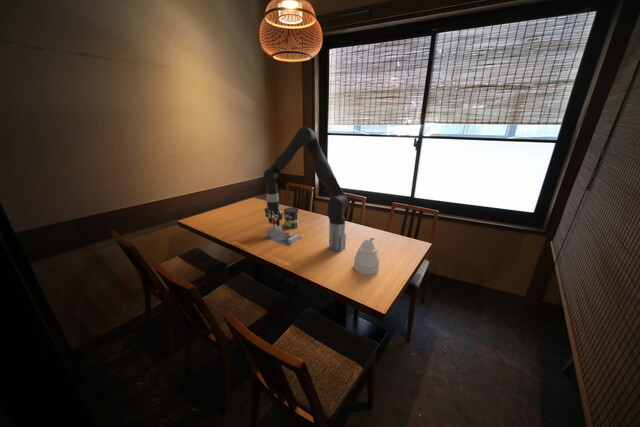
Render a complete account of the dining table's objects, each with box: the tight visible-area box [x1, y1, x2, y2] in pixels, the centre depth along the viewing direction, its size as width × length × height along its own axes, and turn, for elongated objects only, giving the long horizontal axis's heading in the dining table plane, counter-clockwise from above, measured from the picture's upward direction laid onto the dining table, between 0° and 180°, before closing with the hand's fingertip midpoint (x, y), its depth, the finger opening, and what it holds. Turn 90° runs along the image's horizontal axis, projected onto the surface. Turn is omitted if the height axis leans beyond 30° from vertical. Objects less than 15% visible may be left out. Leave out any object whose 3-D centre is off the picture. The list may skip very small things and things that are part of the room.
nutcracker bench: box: [263, 231, 302, 247], centre depth 162 cm, size 21×14×4 cm, turn 56°
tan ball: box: [285, 231, 293, 238], centre depth 158 cm, size 4×4×4 cm
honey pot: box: [353, 235, 380, 275], centre depth 129 cm, size 13×13×18 cm
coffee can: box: [283, 206, 300, 230], centre depth 178 cm, size 10×10×14 cm
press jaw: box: [266, 217, 283, 238], centre depth 163 cm, size 3×11×12 cm, turn 146°
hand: (274, 224), depth 163 cm, fingers open, 5 cm apart
